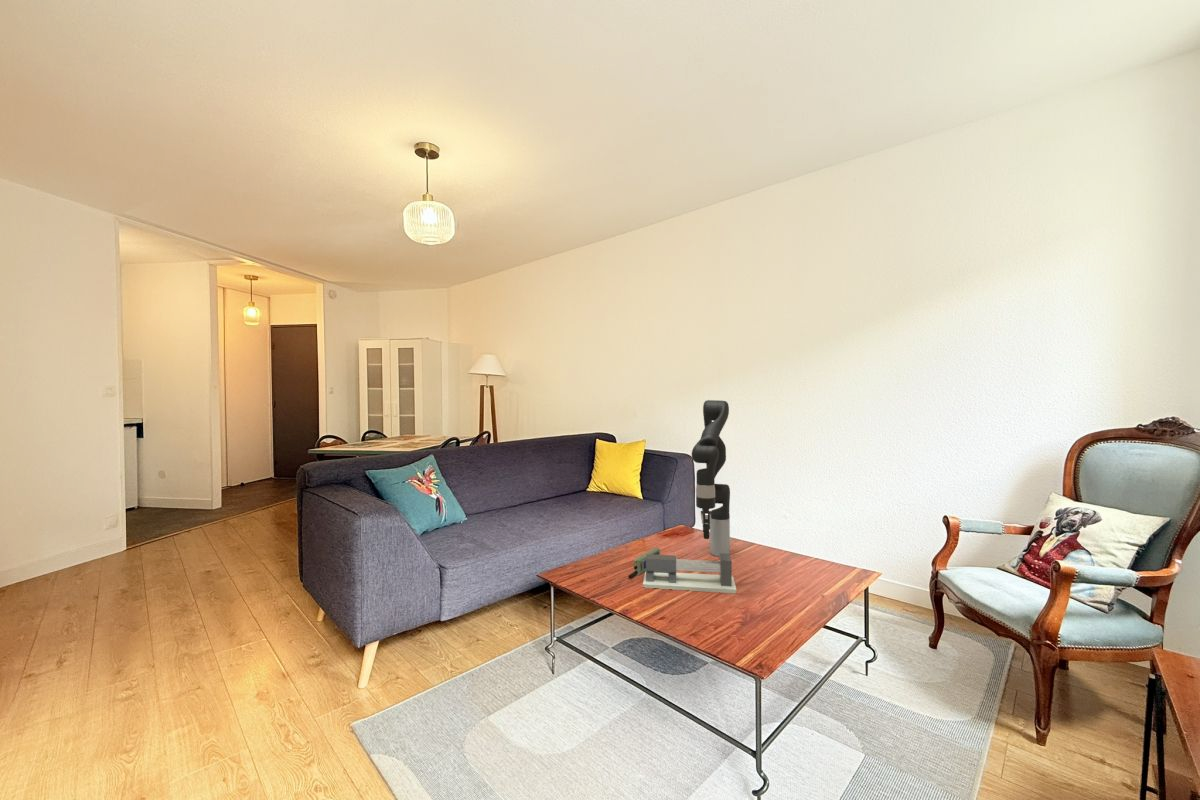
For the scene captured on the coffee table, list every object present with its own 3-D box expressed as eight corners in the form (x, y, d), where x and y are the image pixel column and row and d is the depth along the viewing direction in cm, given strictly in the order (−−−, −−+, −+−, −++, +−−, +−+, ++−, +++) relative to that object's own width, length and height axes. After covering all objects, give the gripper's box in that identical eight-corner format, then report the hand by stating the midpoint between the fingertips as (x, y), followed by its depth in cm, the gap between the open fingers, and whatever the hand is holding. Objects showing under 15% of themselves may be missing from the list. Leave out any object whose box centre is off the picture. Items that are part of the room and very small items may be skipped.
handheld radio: (661, 562, 218) (633, 580, 197) (655, 561, 220) (626, 579, 199) (660, 547, 218) (632, 564, 197) (654, 546, 220) (625, 563, 199)
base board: (645, 574, 203) (645, 570, 203) (732, 579, 197) (732, 575, 197) (642, 587, 189) (642, 584, 189) (736, 593, 183) (736, 589, 183)
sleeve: (647, 573, 200) (647, 553, 200) (676, 575, 198) (676, 554, 198) (645, 581, 192) (645, 559, 192) (676, 583, 190) (675, 561, 190)
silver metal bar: (666, 566, 196) (666, 558, 196) (726, 569, 192) (726, 561, 192) (665, 569, 193) (665, 561, 193) (726, 572, 189) (726, 564, 189)
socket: (719, 577, 195) (719, 553, 195) (729, 578, 194) (729, 553, 194) (721, 585, 187) (720, 560, 187) (731, 586, 186) (731, 560, 186)
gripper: (716, 499, 183) (716, 541, 184) (714, 491, 197) (714, 530, 198) (696, 499, 185) (696, 540, 185) (695, 491, 199) (696, 529, 199)
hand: (705, 535), depth 191 cm, fingers open, 8 cm apart
